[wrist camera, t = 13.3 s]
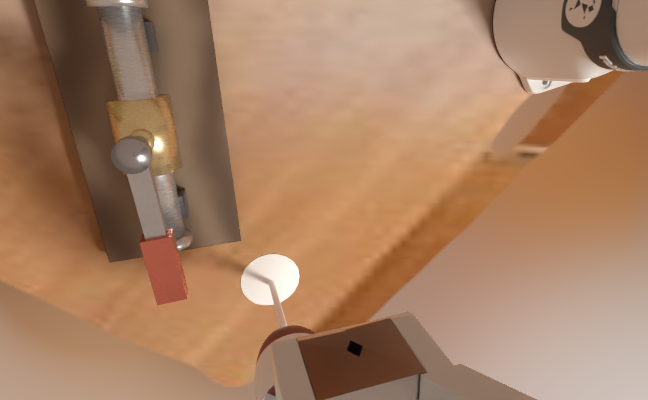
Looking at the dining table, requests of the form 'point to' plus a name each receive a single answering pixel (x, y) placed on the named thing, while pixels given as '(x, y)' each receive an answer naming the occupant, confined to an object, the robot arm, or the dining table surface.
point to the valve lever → (151, 220)
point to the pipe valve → (143, 102)
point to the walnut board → (171, 78)
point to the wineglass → (272, 288)
